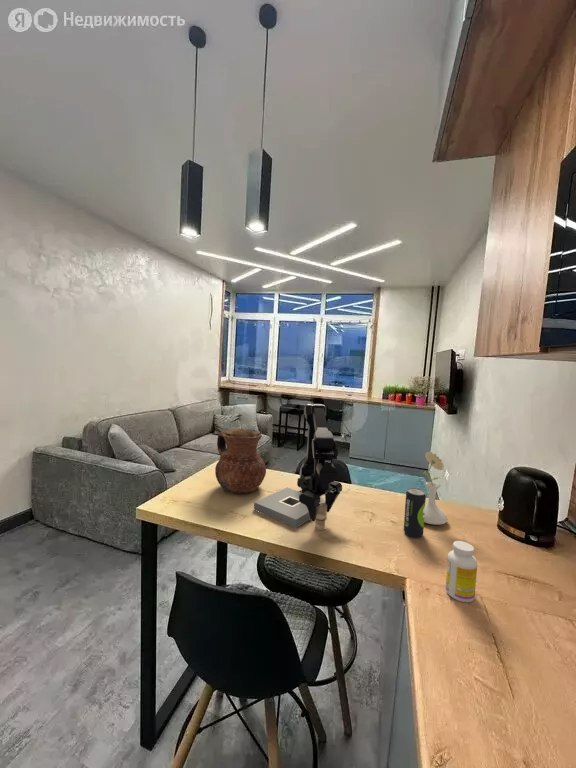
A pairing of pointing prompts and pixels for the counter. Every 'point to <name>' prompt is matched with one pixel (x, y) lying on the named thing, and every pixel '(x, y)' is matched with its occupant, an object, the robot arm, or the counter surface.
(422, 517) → the beverage can
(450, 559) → the supplement bottle
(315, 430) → the robot arm
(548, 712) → the counter surface
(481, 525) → the counter surface
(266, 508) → the socket board
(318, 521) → the birch peg
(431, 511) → the flower in vase
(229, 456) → the jug
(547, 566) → the counter surface
